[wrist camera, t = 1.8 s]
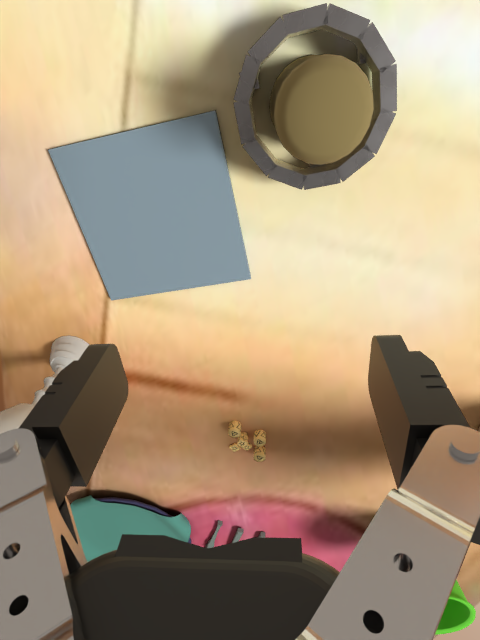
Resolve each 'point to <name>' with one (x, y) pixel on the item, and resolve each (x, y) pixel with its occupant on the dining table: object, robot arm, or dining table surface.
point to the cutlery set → (127, 524)
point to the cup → (456, 612)
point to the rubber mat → (156, 206)
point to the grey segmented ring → (368, 52)
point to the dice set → (242, 441)
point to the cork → (321, 107)
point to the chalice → (61, 357)
